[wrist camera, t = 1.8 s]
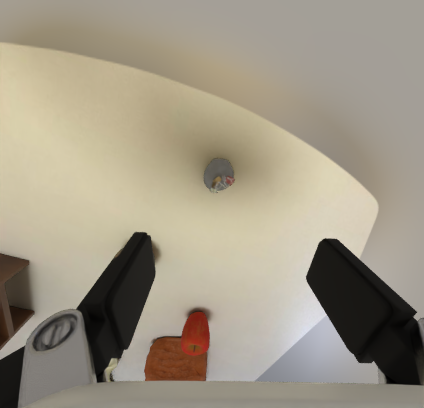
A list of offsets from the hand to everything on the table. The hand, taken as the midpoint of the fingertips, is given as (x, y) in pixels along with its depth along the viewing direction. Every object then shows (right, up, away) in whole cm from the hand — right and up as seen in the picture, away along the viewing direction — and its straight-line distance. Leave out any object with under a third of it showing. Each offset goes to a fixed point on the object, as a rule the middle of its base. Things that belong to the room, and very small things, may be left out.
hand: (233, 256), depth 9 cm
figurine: (0, +8, +17) cm, 18 cm away
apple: (-5, -24, +32) cm, 40 cm away
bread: (-11, -44, +41) cm, 62 cm away
